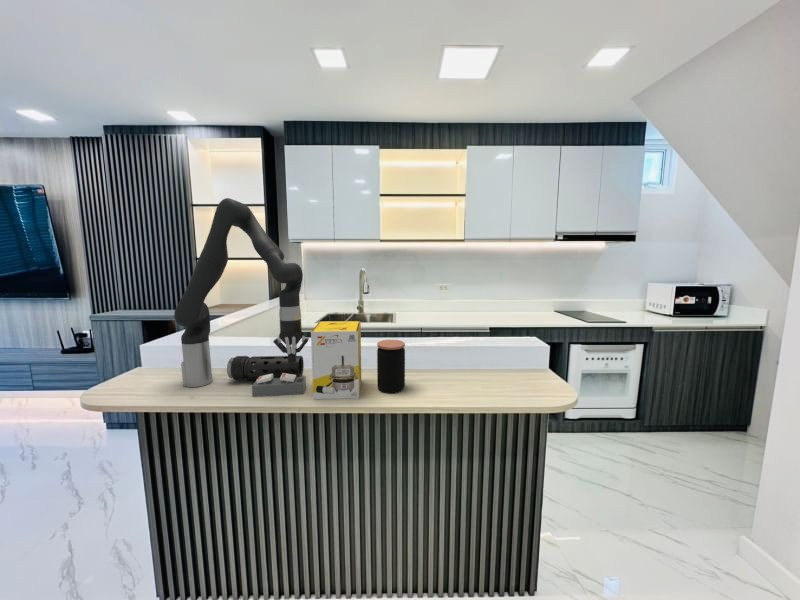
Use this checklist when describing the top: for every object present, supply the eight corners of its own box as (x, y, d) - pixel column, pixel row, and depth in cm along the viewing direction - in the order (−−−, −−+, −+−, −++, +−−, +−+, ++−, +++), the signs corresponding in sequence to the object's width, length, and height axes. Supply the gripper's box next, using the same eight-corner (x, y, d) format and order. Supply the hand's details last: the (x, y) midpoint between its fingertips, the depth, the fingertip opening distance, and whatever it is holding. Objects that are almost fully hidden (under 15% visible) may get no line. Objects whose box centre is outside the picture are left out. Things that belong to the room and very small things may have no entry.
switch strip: (252, 396, 120) (251, 385, 120) (258, 388, 127) (257, 377, 127) (303, 394, 123) (302, 382, 122) (306, 386, 130) (305, 375, 129)
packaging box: (313, 399, 118) (310, 331, 114) (321, 381, 134) (319, 321, 130) (359, 398, 119) (357, 331, 115) (361, 380, 135) (360, 321, 131)
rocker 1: (257, 383, 121) (256, 380, 121) (260, 379, 125) (259, 376, 125) (270, 380, 122) (270, 377, 122) (273, 376, 126) (272, 373, 126)
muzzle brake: (298, 384, 132) (297, 359, 130) (226, 385, 130) (224, 360, 129) (304, 375, 141) (303, 352, 140) (237, 376, 140) (235, 353, 138)
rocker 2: (279, 379, 122) (280, 376, 122) (282, 375, 126) (282, 372, 126) (293, 382, 123) (294, 378, 123) (295, 377, 127) (296, 374, 127)
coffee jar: (409, 385, 131) (409, 341, 128) (397, 396, 121) (397, 348, 118) (385, 380, 135) (385, 338, 132) (372, 390, 126) (371, 345, 123)
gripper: (268, 320, 117) (271, 367, 119) (307, 319, 118) (309, 365, 121) (274, 316, 124) (276, 360, 127) (310, 315, 126) (311, 359, 128)
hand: (292, 362), depth 124 cm, fingers closed
